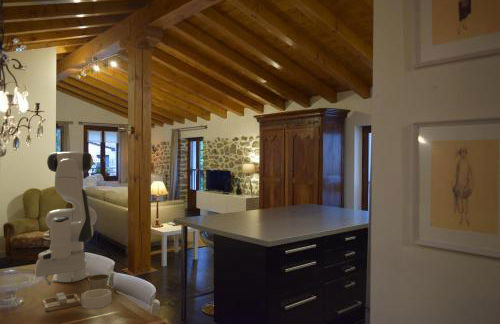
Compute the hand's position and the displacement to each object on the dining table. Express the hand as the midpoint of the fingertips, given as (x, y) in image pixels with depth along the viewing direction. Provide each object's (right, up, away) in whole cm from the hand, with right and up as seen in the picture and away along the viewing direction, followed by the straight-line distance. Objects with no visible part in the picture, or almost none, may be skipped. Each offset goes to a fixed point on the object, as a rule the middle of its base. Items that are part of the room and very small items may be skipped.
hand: (60, 283), depth 169 cm
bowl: (+17, -10, -1) cm, 19 cm away
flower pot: (+13, -10, +12) cm, 20 cm away
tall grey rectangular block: (0, -9, +1) cm, 9 cm away
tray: (+1, -9, -1) cm, 10 cm away
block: (+3, -9, -4) cm, 10 cm away
